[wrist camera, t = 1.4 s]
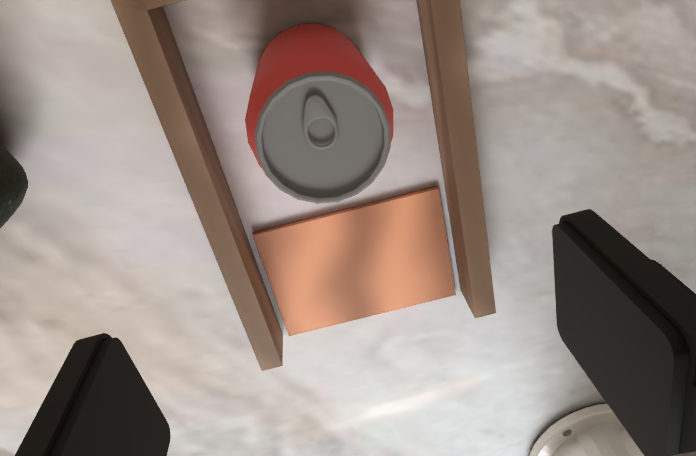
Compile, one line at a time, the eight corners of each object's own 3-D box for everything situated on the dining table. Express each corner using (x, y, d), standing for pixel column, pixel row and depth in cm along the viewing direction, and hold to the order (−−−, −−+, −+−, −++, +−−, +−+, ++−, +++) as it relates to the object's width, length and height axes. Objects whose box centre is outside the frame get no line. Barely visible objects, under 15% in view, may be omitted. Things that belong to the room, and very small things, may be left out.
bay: (430, -98, 28) (447, -104, 25) (479, 285, 40) (495, 312, 37) (124, -19, 29) (104, -15, 26) (263, 339, 41) (261, 370, 38)
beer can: (354, 10, 31) (390, 40, 20) (374, 119, 34) (414, 196, 23) (242, 35, 31) (219, 79, 20) (272, 142, 34) (266, 230, 23)
